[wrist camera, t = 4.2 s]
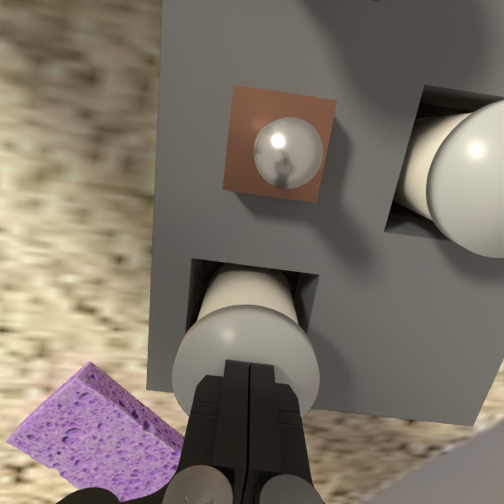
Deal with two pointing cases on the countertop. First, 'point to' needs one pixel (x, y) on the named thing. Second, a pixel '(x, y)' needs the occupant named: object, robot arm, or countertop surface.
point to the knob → (247, 334)
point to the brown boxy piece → (277, 143)
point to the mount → (332, 194)
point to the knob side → (458, 177)
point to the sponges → (101, 437)
